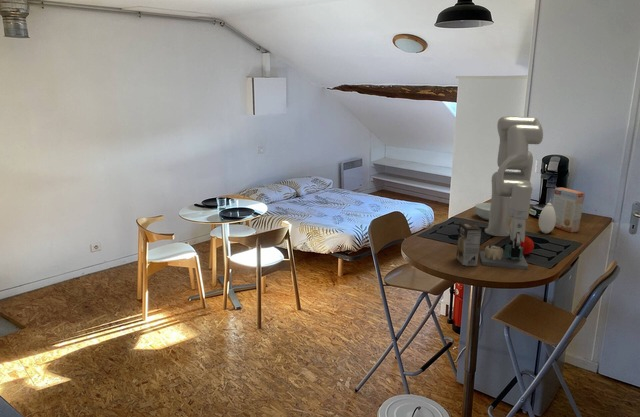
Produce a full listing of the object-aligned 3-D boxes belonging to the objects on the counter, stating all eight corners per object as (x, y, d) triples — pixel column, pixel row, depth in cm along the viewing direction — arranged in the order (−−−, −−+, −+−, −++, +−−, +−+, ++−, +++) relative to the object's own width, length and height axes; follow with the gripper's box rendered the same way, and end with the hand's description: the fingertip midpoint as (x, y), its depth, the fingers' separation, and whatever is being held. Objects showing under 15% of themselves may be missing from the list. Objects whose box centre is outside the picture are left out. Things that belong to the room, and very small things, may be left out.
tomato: (512, 248, 229) (514, 230, 227) (535, 253, 223) (538, 235, 221) (505, 253, 222) (507, 235, 220) (529, 259, 216) (531, 240, 214)
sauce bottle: (537, 234, 251) (542, 199, 247) (536, 229, 259) (541, 196, 254) (554, 235, 249) (560, 201, 245) (552, 231, 256) (557, 197, 252)
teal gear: (520, 254, 214) (522, 245, 213) (523, 259, 207) (524, 250, 206) (503, 252, 215) (504, 243, 214) (505, 258, 208) (506, 248, 207)
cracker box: (579, 232, 257) (585, 192, 251) (570, 233, 254) (576, 193, 249) (557, 224, 269) (563, 186, 264) (549, 225, 267) (554, 187, 262)
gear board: (479, 253, 221) (481, 238, 219) (522, 257, 217) (524, 242, 215) (481, 264, 208) (483, 248, 206) (527, 269, 204) (529, 252, 202)
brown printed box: (455, 258, 215) (458, 222, 211) (470, 258, 216) (473, 222, 212) (462, 265, 207) (466, 228, 202) (477, 265, 207) (481, 228, 203)
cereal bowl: (473, 221, 273) (474, 208, 271) (473, 213, 288) (474, 201, 286) (506, 224, 268) (507, 211, 266) (504, 216, 283) (506, 204, 281)
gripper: (531, 219, 197) (526, 262, 202) (525, 208, 214) (520, 248, 218) (511, 218, 199) (506, 260, 203) (506, 207, 215) (501, 246, 220)
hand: (513, 253), depth 211 cm, fingers closed on teal gear, 6 cm apart
